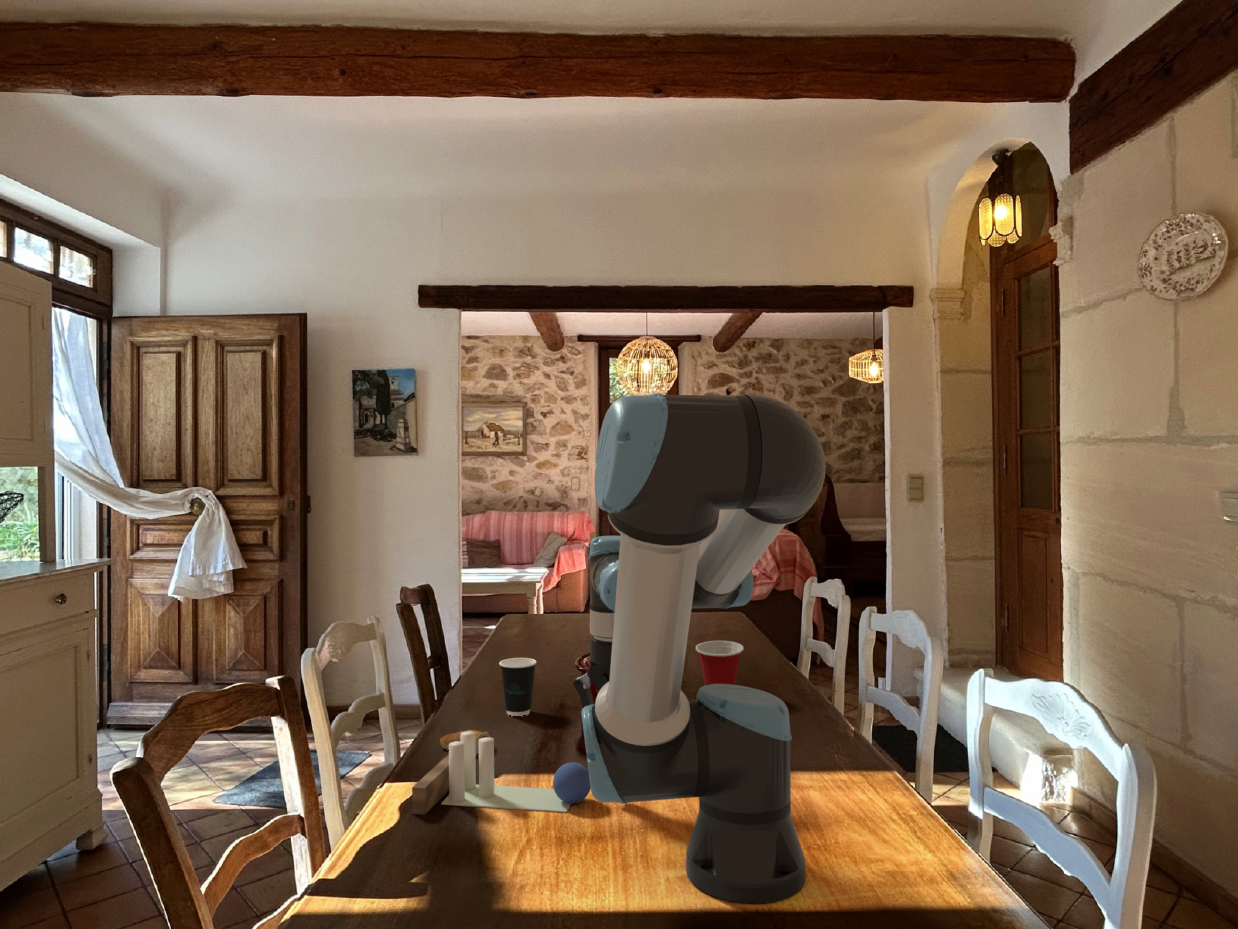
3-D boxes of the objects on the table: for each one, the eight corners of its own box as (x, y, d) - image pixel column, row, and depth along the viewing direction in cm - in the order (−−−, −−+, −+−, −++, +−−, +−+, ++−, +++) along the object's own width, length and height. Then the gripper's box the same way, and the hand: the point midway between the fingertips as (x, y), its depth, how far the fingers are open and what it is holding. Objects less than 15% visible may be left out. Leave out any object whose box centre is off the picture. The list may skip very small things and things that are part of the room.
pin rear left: (472, 792, 131) (472, 736, 131) (458, 791, 131) (458, 735, 131) (477, 786, 133) (477, 731, 133) (463, 785, 134) (463, 731, 134)
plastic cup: (690, 703, 180) (690, 649, 180) (701, 690, 190) (701, 639, 190) (739, 707, 176) (738, 652, 176) (748, 694, 186) (747, 642, 186)
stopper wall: (424, 815, 122) (424, 788, 123) (412, 814, 123) (412, 787, 123) (462, 775, 138) (462, 751, 138) (451, 774, 139) (451, 751, 139)
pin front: (491, 800, 128) (491, 742, 128) (477, 799, 128) (476, 742, 128) (496, 794, 130) (495, 737, 130) (482, 793, 131) (481, 737, 131)
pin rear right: (461, 805, 126) (461, 747, 126) (446, 804, 126) (446, 746, 126) (467, 798, 128) (466, 741, 128) (452, 798, 129) (452, 741, 129)
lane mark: (566, 812, 123) (566, 811, 123) (441, 804, 126) (441, 803, 126) (578, 791, 131) (578, 790, 131) (460, 784, 134) (460, 783, 134)
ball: (587, 811, 123) (586, 771, 123) (548, 808, 124) (548, 769, 124) (595, 795, 129) (594, 757, 129) (558, 793, 130) (558, 755, 130)
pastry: (432, 753, 150) (432, 732, 150) (452, 742, 156) (452, 722, 156) (476, 759, 147) (476, 738, 147) (495, 747, 153) (495, 727, 153)
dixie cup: (507, 721, 168) (506, 668, 168) (494, 711, 175) (494, 660, 175) (542, 715, 172) (542, 663, 172) (528, 706, 179) (528, 656, 179)
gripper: (659, 632, 128) (659, 780, 129) (579, 628, 131) (580, 773, 132) (651, 643, 121) (651, 800, 122) (567, 639, 124) (568, 792, 124)
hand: (614, 786), depth 127 cm, fingers closed
